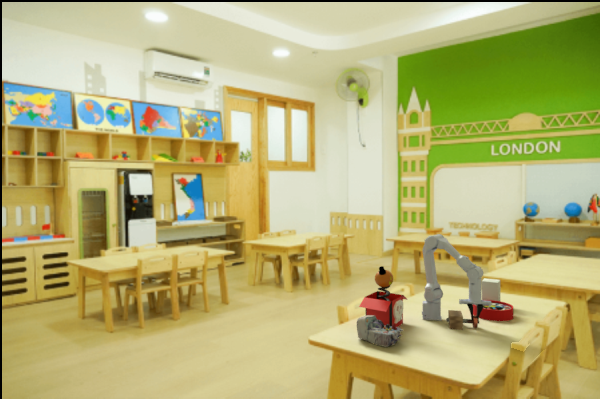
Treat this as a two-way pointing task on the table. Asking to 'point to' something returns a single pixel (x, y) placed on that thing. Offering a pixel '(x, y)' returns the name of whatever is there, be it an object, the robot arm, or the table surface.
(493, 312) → the toy clock
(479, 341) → the table surface
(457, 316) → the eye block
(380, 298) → the jack-in-the-box
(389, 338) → the grey lumpy piece
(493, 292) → the supplement box
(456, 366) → the table surface
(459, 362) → the table surface
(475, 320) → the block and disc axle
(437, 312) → the robot arm
